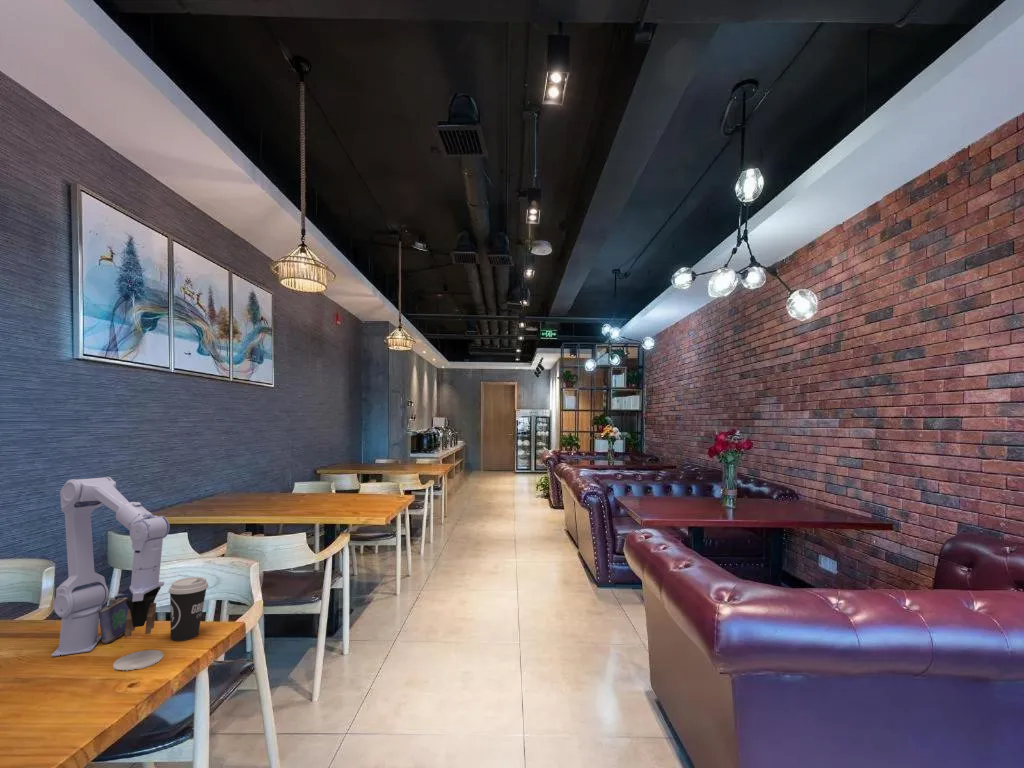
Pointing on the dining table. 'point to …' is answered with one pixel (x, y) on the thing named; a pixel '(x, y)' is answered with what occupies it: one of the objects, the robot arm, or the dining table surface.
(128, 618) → the stool
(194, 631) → the coffee cup
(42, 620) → the dining table surface
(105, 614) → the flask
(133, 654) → the plate
